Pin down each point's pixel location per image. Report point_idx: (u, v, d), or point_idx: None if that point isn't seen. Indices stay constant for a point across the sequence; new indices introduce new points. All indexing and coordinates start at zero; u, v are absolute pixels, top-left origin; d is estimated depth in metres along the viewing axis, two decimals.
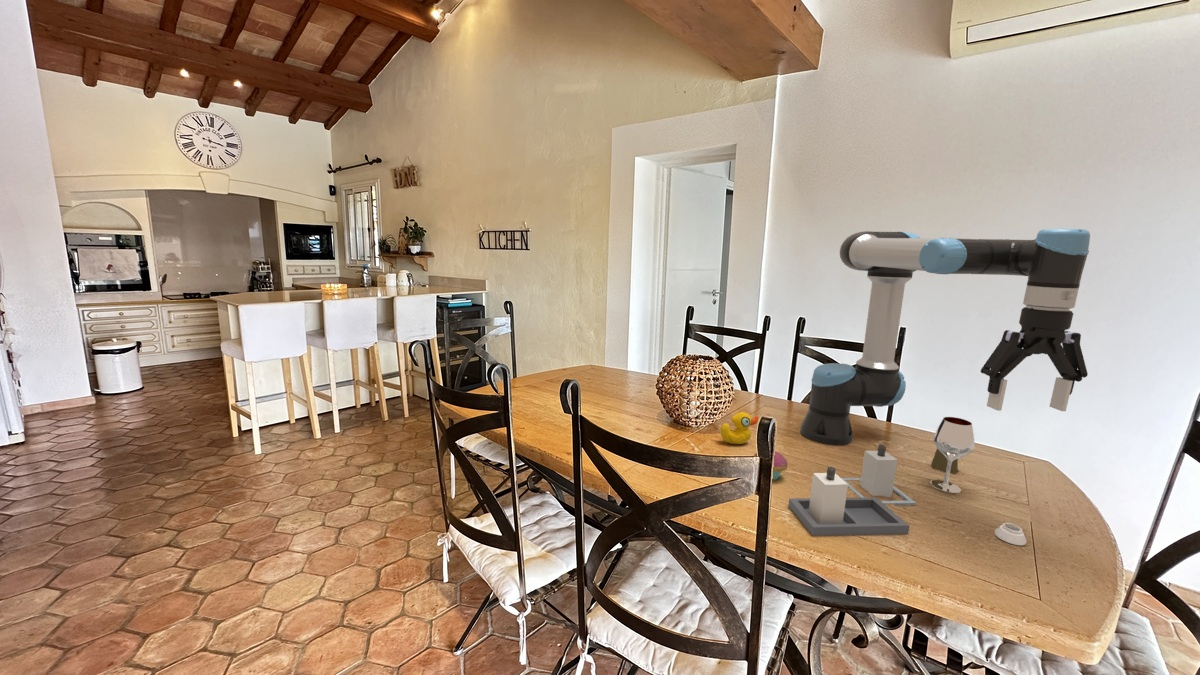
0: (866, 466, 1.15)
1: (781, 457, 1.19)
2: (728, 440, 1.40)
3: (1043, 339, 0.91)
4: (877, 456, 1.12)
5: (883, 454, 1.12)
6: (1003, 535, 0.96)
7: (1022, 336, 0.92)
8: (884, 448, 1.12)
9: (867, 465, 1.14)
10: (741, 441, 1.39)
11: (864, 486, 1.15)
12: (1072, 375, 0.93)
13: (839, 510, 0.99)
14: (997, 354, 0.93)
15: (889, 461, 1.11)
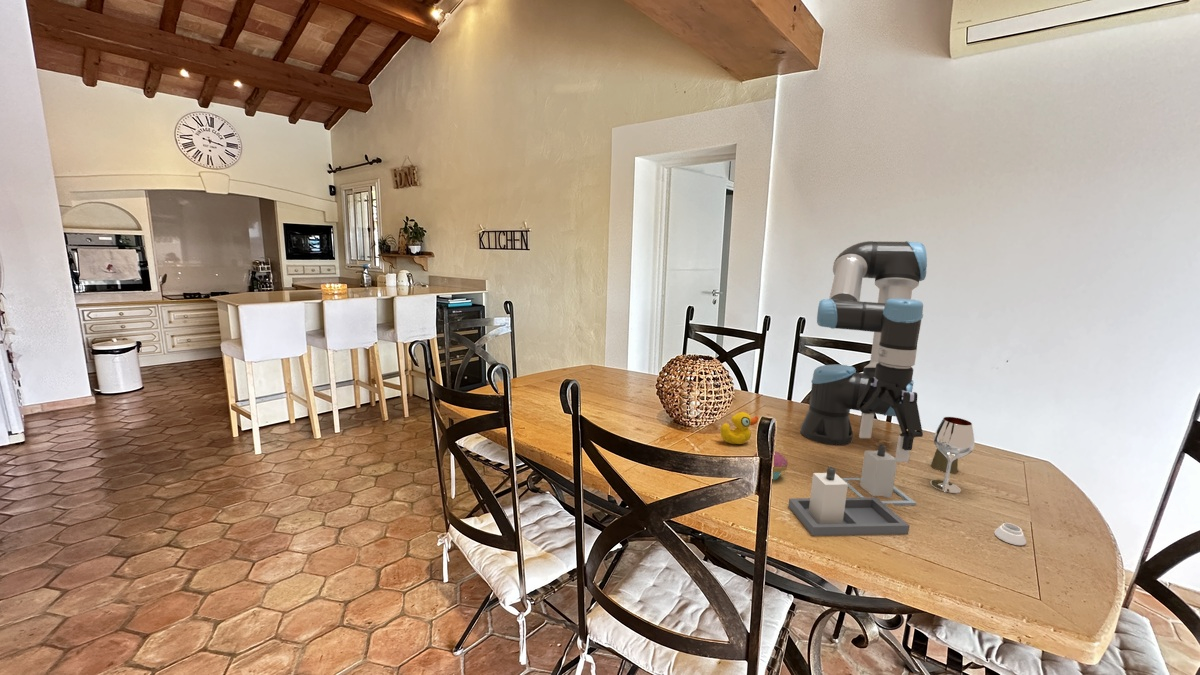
0: (866, 466, 1.15)
1: (781, 457, 1.19)
2: (728, 440, 1.40)
3: (879, 387, 1.11)
4: (877, 456, 1.12)
5: (883, 454, 1.12)
6: (1003, 535, 0.96)
7: (877, 382, 1.14)
8: (884, 448, 1.12)
9: (866, 465, 1.14)
10: (741, 441, 1.39)
11: (864, 486, 1.15)
12: (902, 430, 1.04)
13: (839, 510, 0.99)
14: None
15: (889, 461, 1.11)
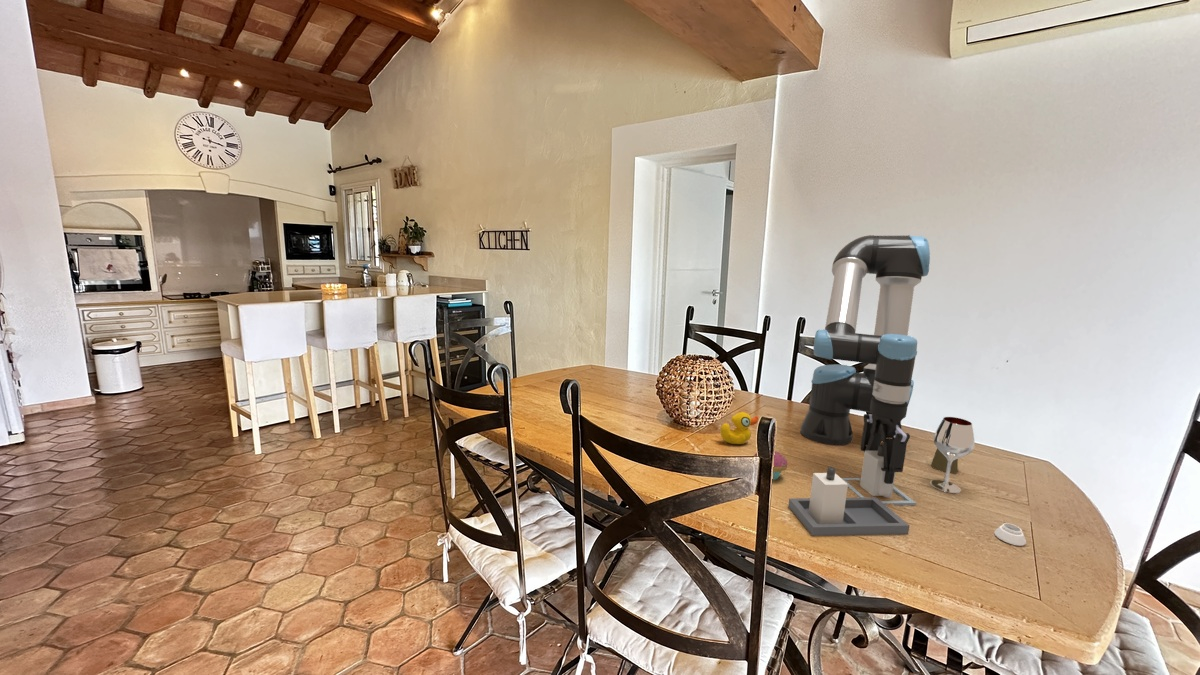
0: (866, 466, 1.15)
1: (781, 457, 1.19)
2: (728, 440, 1.40)
3: (874, 420, 1.13)
4: (877, 456, 1.12)
5: (883, 454, 1.12)
6: (1003, 535, 0.96)
7: None
8: None
9: (867, 465, 1.14)
10: (741, 441, 1.39)
11: (864, 486, 1.15)
12: (884, 464, 1.10)
13: (839, 510, 0.99)
14: None
15: None
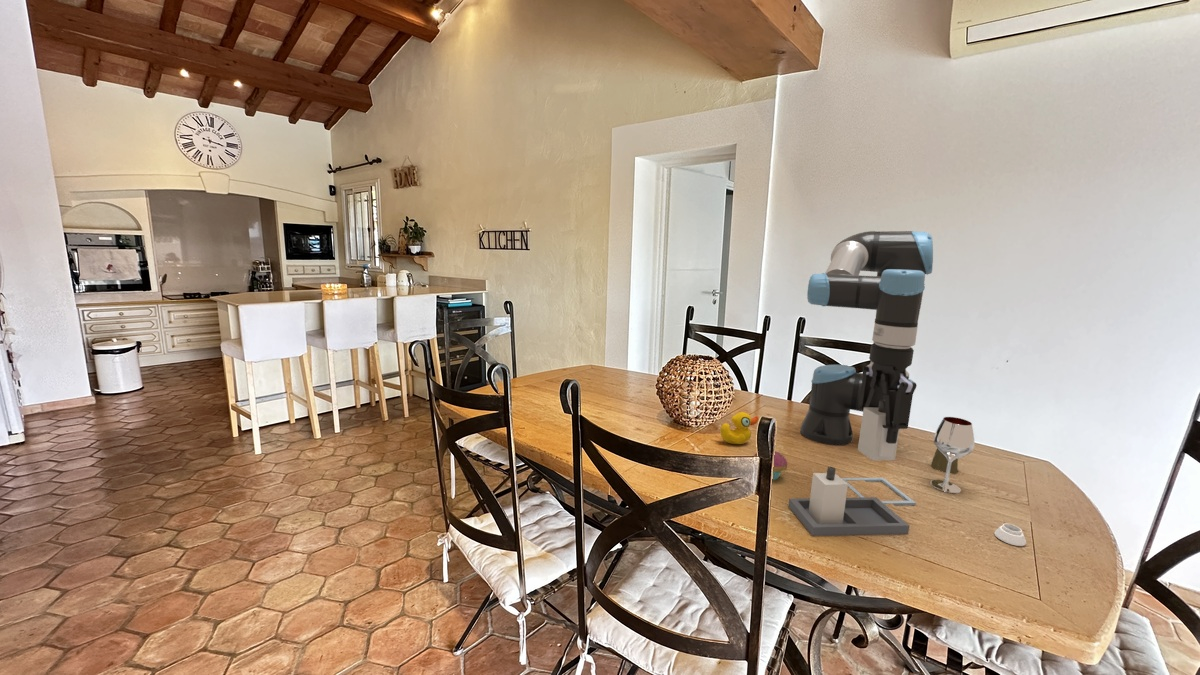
0: (865, 425, 0.99)
1: (781, 457, 1.19)
2: (728, 440, 1.40)
3: (874, 371, 0.97)
4: (878, 412, 0.97)
5: None
6: (1003, 536, 0.96)
7: None
8: None
9: (866, 424, 0.99)
10: (741, 441, 1.39)
11: (863, 448, 1.00)
12: (886, 421, 0.94)
13: (839, 510, 0.99)
14: None
15: None
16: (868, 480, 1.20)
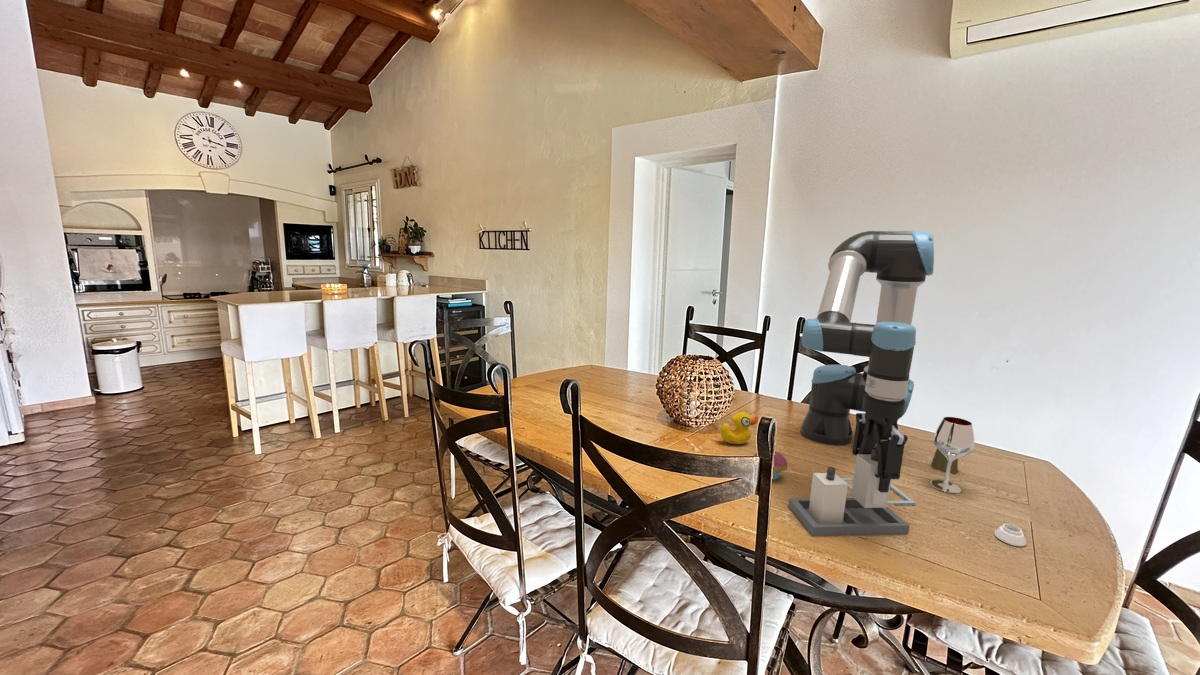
0: (858, 472, 1.01)
1: (781, 457, 1.19)
2: (728, 440, 1.40)
3: (867, 420, 0.99)
4: (870, 461, 0.99)
5: (877, 458, 0.99)
6: (1003, 536, 0.96)
7: None
8: None
9: (859, 471, 1.01)
10: (741, 441, 1.39)
11: (856, 494, 1.02)
12: (879, 470, 0.96)
13: (839, 510, 0.99)
14: None
15: None
16: None
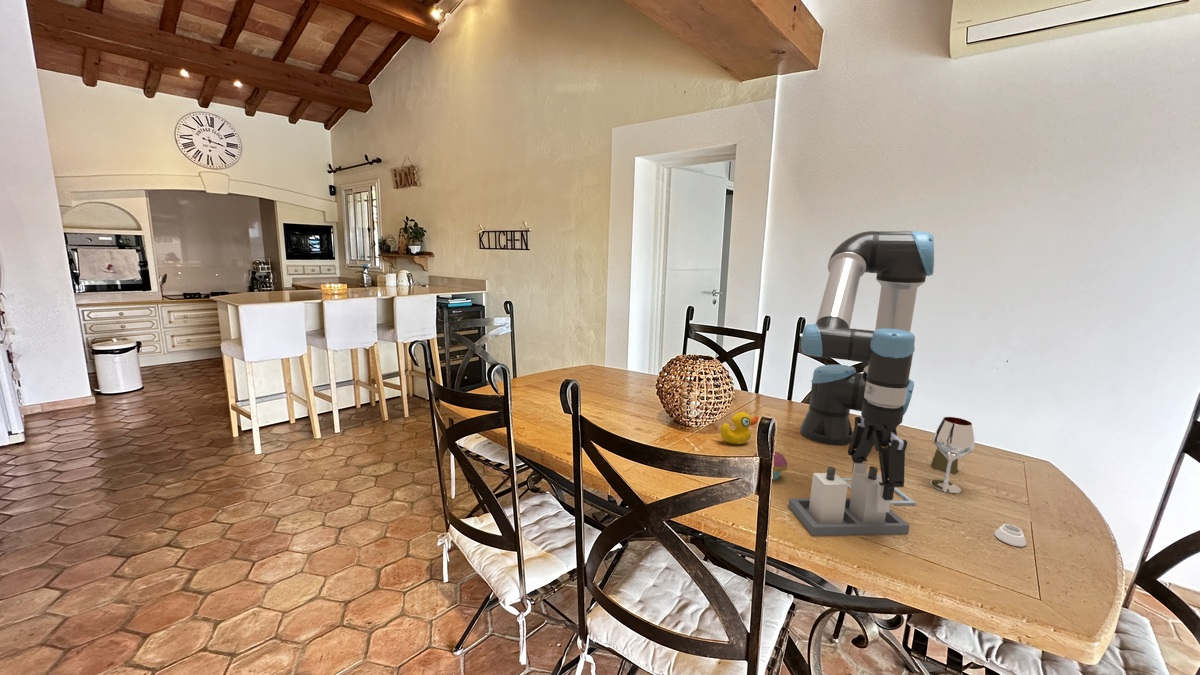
0: (856, 490, 1.02)
1: (781, 457, 1.19)
2: (728, 440, 1.40)
3: (866, 426, 1.00)
4: (868, 479, 1.00)
5: (874, 477, 1.00)
6: (1003, 536, 0.96)
7: None
8: (876, 470, 0.99)
9: (856, 489, 1.02)
10: (741, 441, 1.39)
11: (853, 512, 1.03)
12: (882, 478, 0.95)
13: (839, 510, 0.99)
14: None
15: None
16: None
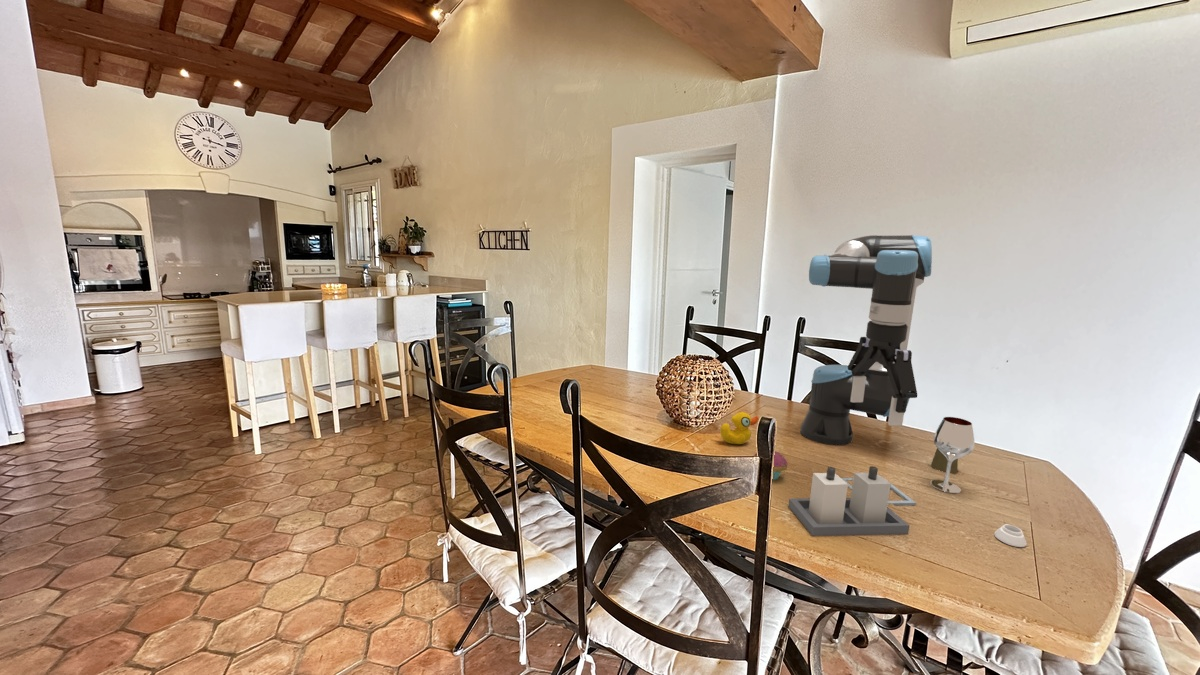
0: (856, 490, 1.02)
1: (781, 457, 1.19)
2: (728, 440, 1.40)
3: (871, 347, 1.03)
4: (868, 479, 1.00)
5: (874, 477, 1.00)
6: (1003, 537, 0.96)
7: (869, 342, 1.06)
8: (876, 470, 0.99)
9: (856, 489, 1.02)
10: (741, 441, 1.39)
11: (853, 512, 1.03)
12: (895, 391, 0.97)
13: (839, 510, 0.99)
14: None
15: (882, 485, 0.98)
16: None
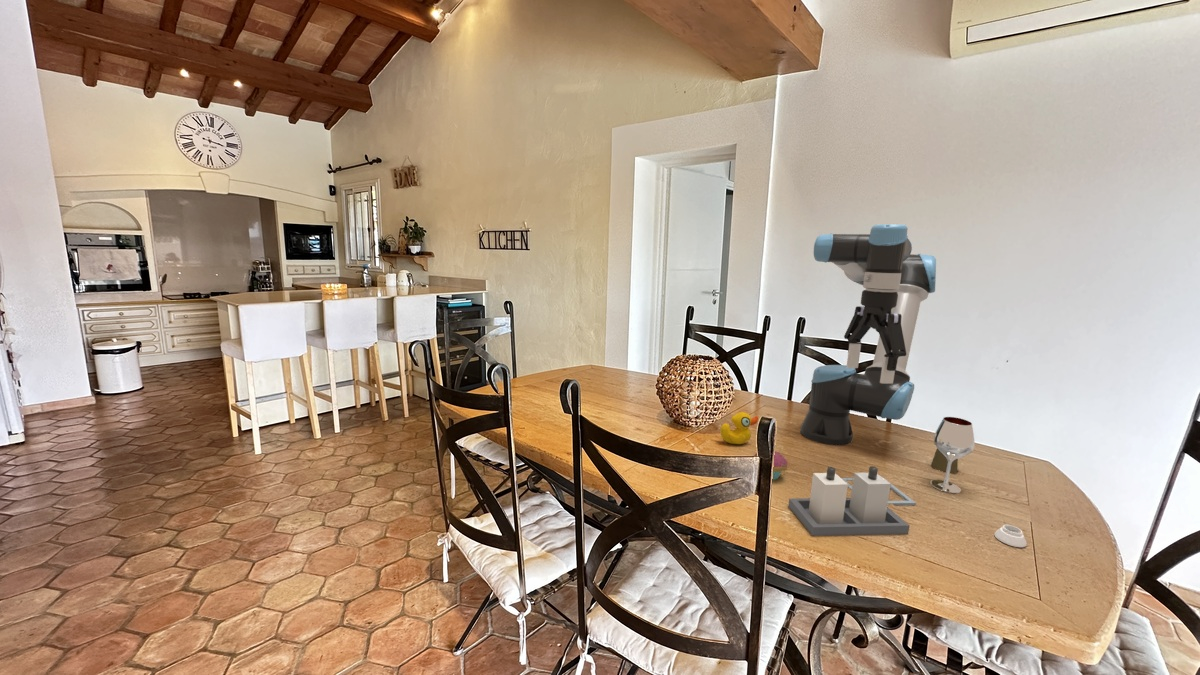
0: (856, 490, 1.02)
1: (781, 457, 1.19)
2: (728, 440, 1.40)
3: (865, 313, 1.13)
4: (868, 479, 1.00)
5: (874, 477, 1.00)
6: (1003, 537, 0.96)
7: None
8: (876, 470, 0.99)
9: (856, 489, 1.02)
10: (741, 441, 1.39)
11: (853, 512, 1.03)
12: (886, 351, 1.06)
13: (839, 510, 0.99)
14: None
15: (882, 485, 0.98)
16: None
